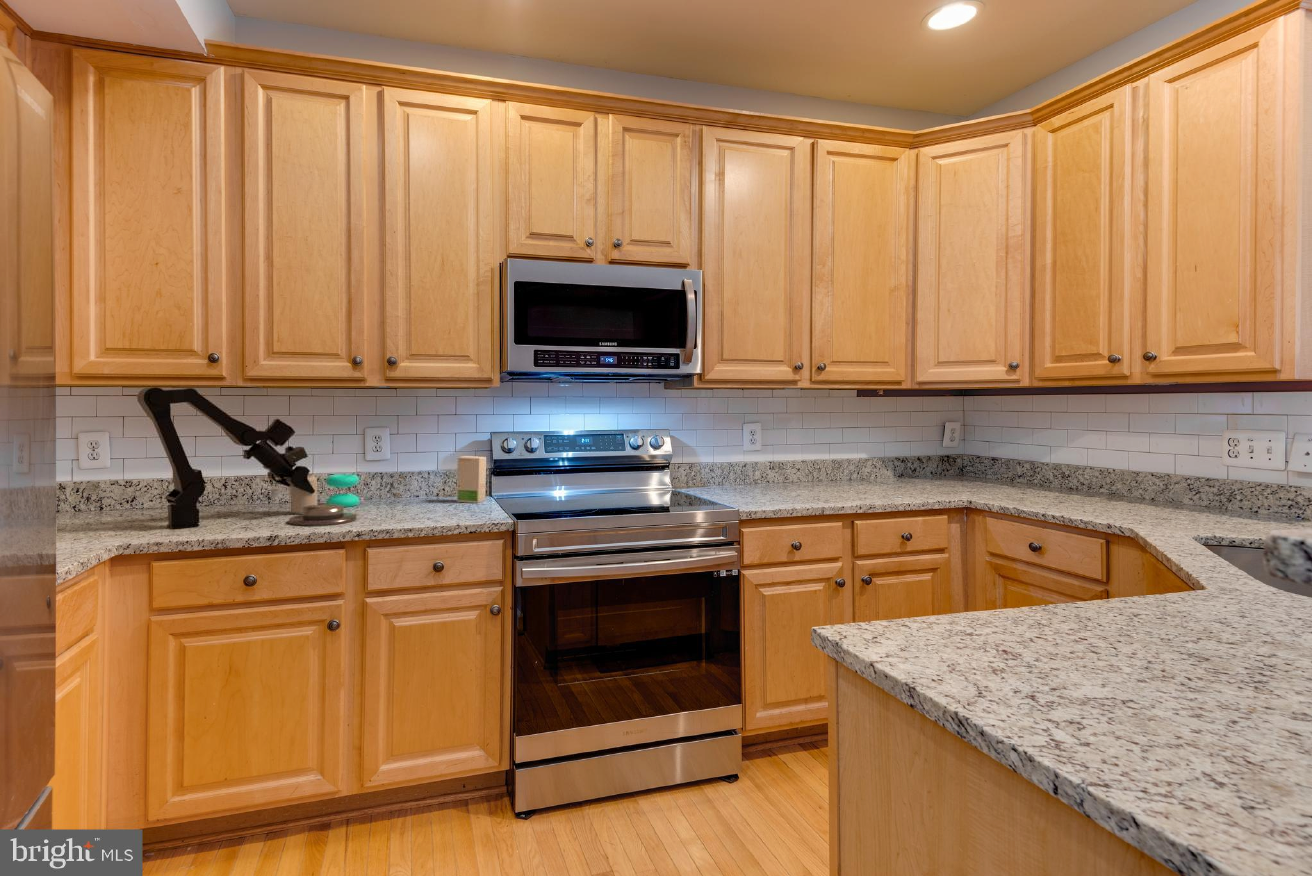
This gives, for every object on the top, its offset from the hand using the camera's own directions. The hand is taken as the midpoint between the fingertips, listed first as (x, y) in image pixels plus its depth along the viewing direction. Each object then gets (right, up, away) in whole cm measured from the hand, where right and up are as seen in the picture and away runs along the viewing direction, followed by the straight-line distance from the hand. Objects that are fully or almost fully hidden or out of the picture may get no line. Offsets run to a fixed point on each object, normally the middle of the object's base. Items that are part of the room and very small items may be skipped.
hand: (308, 491), depth 232 cm
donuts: (+5, -6, +15) cm, 16 cm away
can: (-1, -7, -1) cm, 7 cm away
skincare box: (+45, -6, +26) cm, 52 cm away
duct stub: (+11, -8, -14) cm, 19 cm away
